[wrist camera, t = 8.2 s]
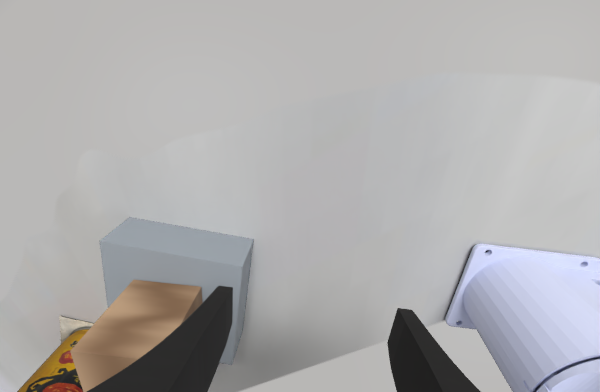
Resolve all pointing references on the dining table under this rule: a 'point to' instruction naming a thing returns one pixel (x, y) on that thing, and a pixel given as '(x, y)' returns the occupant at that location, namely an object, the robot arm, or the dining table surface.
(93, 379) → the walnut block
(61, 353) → the condiment
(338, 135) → the dining table surface
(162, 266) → the slate box
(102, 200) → the dining table surface
